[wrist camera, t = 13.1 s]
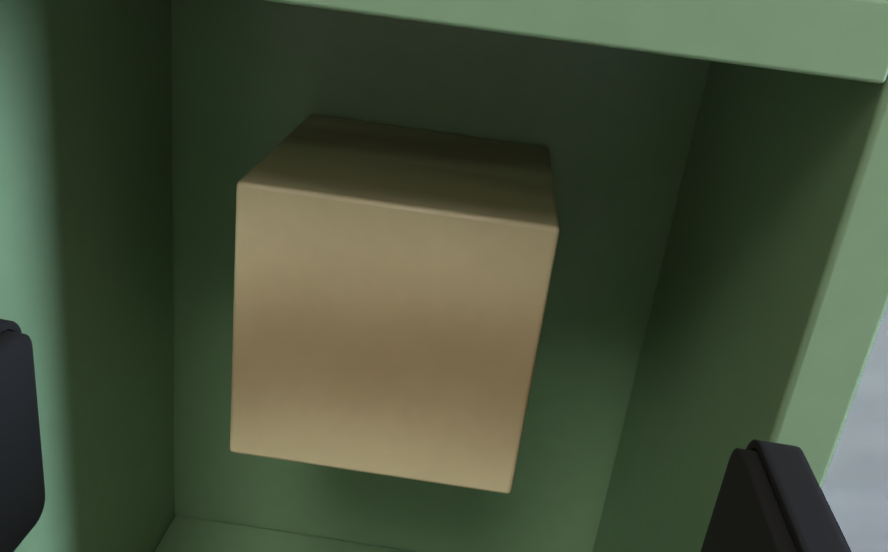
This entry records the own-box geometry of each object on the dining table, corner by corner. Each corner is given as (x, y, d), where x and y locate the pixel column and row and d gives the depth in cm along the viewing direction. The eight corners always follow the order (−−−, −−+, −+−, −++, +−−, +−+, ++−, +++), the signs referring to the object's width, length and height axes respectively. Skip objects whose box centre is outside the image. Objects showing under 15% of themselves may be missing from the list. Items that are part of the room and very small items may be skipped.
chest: (145, -114, 18) (-190, -143, 10) (765, -32, 18) (995, 14, 9) (156, 514, 25) (-38, 831, 16) (609, 583, 24) (657, 946, 16)
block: (309, 112, 19) (234, 181, 14) (549, 146, 19) (560, 228, 14) (297, 328, 21) (228, 453, 16) (513, 359, 21) (510, 496, 16)
